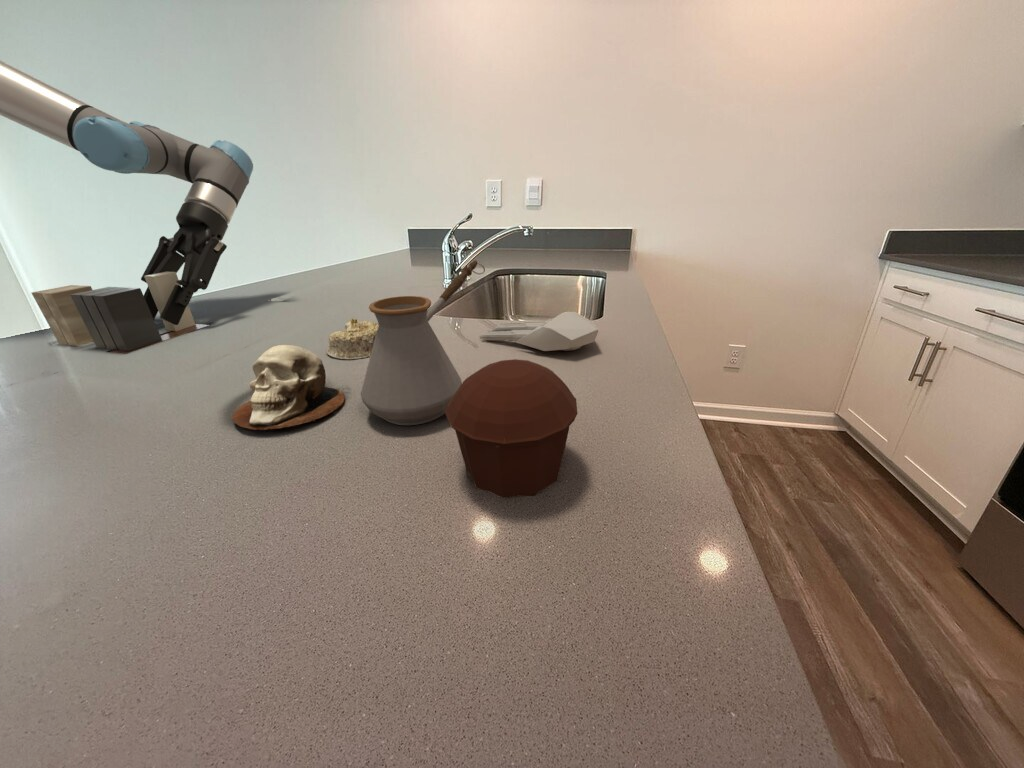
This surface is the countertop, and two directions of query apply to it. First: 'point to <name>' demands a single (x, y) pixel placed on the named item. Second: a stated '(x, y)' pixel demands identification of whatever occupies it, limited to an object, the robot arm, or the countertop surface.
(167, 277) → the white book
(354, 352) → the cake
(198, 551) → the countertop surface
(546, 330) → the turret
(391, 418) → the coffee pot
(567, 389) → the muffin
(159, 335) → the grey stand
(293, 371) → the skull
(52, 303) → the tan wooden block
